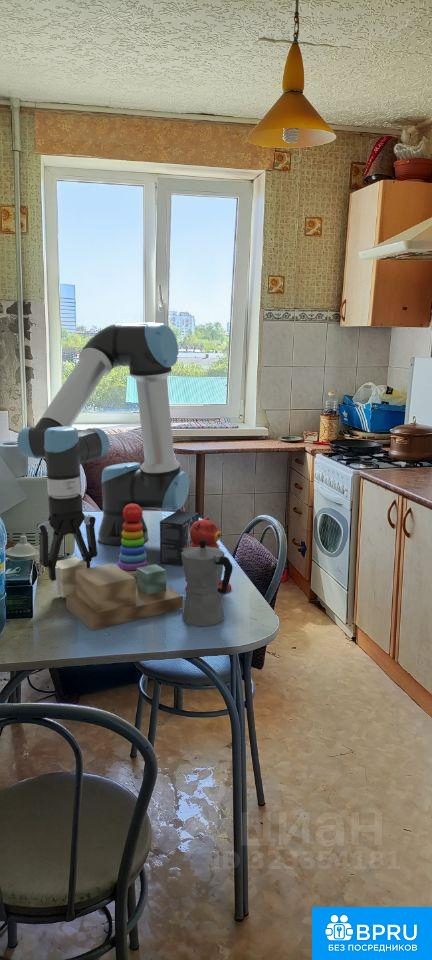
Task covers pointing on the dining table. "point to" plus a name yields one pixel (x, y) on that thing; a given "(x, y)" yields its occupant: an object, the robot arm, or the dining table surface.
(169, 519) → the small box
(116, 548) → the dining table surface
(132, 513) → the stacking toy
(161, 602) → the base
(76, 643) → the dining table surface
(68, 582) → the oak block
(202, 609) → the coffeepot
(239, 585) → the dining table surface
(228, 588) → the stacking bear
